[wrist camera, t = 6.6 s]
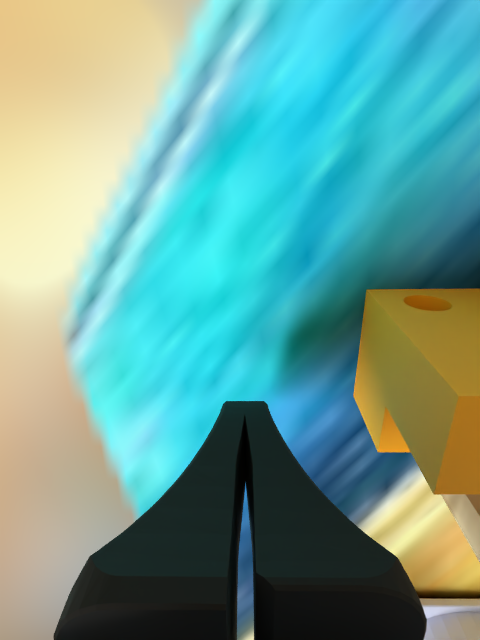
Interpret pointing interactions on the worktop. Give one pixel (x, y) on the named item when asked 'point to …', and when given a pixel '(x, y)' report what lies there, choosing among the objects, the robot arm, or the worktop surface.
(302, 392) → the worktop surface
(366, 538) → the robot arm
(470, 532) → the wooden open tray
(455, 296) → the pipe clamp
